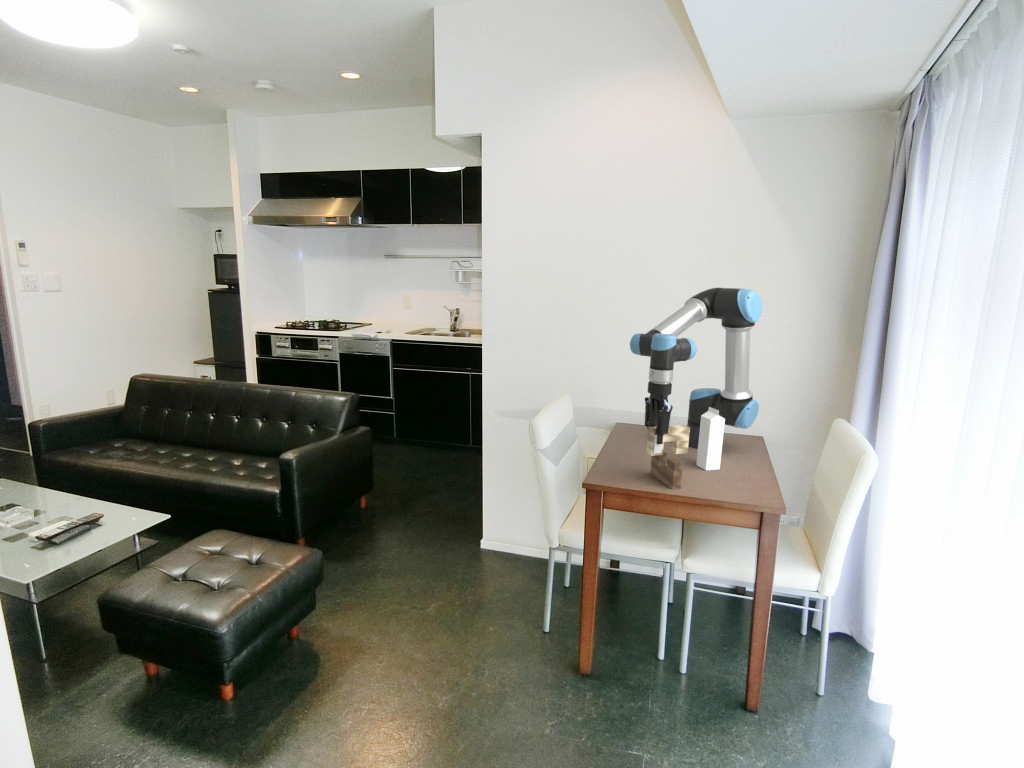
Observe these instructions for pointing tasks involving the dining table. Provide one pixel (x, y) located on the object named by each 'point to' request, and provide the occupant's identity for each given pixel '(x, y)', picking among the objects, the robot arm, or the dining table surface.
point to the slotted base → (667, 470)
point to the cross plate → (670, 439)
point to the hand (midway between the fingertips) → (654, 451)
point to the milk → (710, 440)
